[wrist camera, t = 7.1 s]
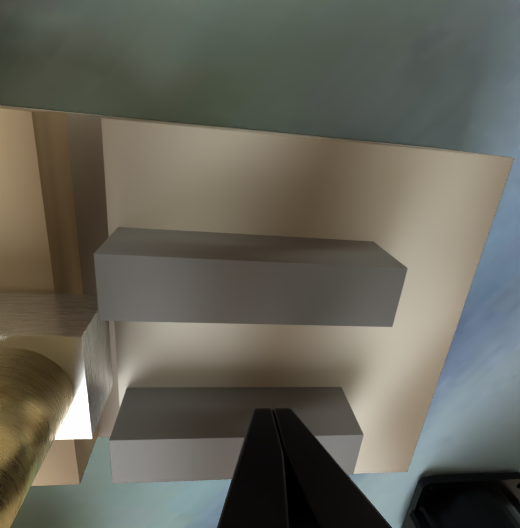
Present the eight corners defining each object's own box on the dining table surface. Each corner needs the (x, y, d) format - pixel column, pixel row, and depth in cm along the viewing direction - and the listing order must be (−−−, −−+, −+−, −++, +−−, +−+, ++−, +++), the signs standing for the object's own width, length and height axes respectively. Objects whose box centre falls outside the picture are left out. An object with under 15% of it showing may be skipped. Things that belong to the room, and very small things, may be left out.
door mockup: (440, 148, 13) (583, 167, 8) (371, 406, 17) (435, 524, 12) (-332, 73, 10) (-916, 24, 5) (-177, 412, 14) (-396, 575, 9)
